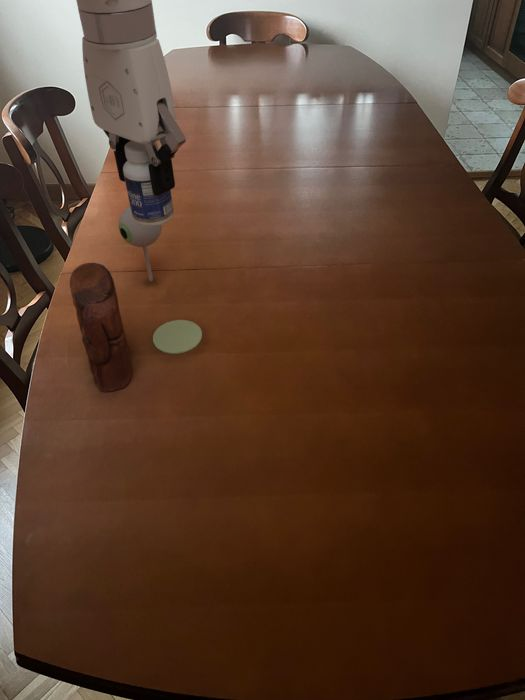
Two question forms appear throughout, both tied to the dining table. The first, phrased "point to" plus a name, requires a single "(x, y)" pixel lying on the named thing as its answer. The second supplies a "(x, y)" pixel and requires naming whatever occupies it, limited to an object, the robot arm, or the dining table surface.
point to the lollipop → (138, 234)
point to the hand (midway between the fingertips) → (147, 182)
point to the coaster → (177, 336)
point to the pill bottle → (144, 188)
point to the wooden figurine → (101, 326)
